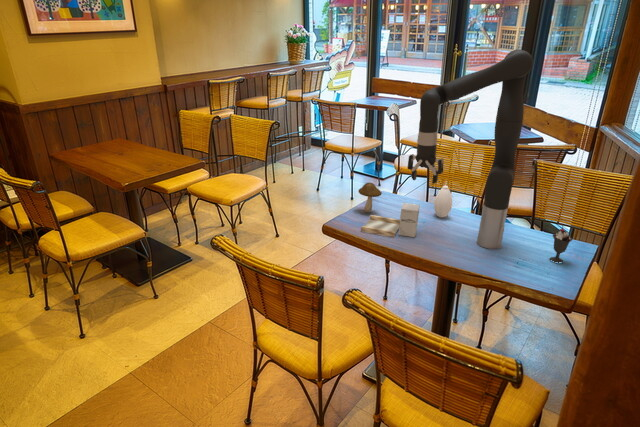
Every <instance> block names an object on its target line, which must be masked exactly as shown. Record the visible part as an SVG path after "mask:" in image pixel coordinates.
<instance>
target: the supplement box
mask: <svg viewBox="0 0 640 427" xmlns="http://www.w3.org/2000/svg"><path fill="white" fill-rule="evenodd" d="M420 206H421V205H420V204H414V203H410V202H409V203H407V202H402V205H401V210H400V218H399V220H400V225H399V229H398V236H403V237H411V238H416V235H417V229H418V222H419V213H420Z"/></svg>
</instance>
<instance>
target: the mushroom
mask: <svg viewBox="0 0 640 427" xmlns="http://www.w3.org/2000/svg"><path fill="white" fill-rule="evenodd" d="M358 194H359V195H361V196H364V197H367V200H366V203H365V205H364V208H363V210H364V213H371V211H372V210H373V198H376V197H380V196H381V195H382V194H383V193H382V191H381V190H380V189H379V188H377V186H376V185H375V184H374V183H373V182H366V183H364V184H363V185H362V187H360V188H359V189H358Z"/></svg>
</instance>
